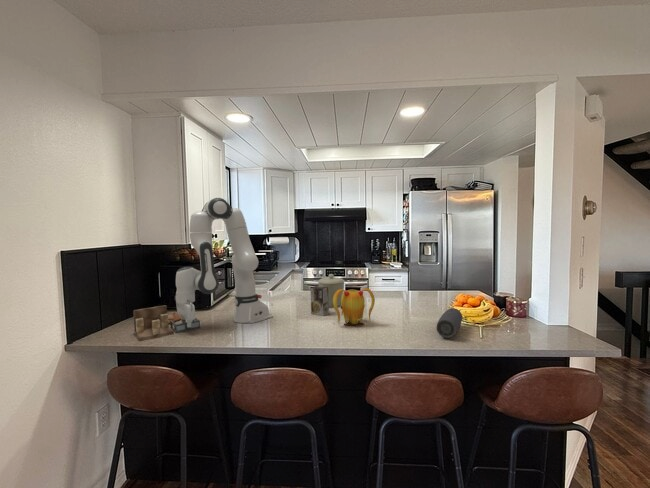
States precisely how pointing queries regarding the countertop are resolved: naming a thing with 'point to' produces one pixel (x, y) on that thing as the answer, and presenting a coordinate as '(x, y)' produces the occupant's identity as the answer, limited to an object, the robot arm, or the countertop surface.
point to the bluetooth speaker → (449, 323)
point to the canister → (332, 288)
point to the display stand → (151, 323)
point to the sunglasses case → (173, 318)
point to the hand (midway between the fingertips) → (186, 324)
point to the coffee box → (319, 300)
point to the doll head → (352, 306)
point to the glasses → (185, 326)
